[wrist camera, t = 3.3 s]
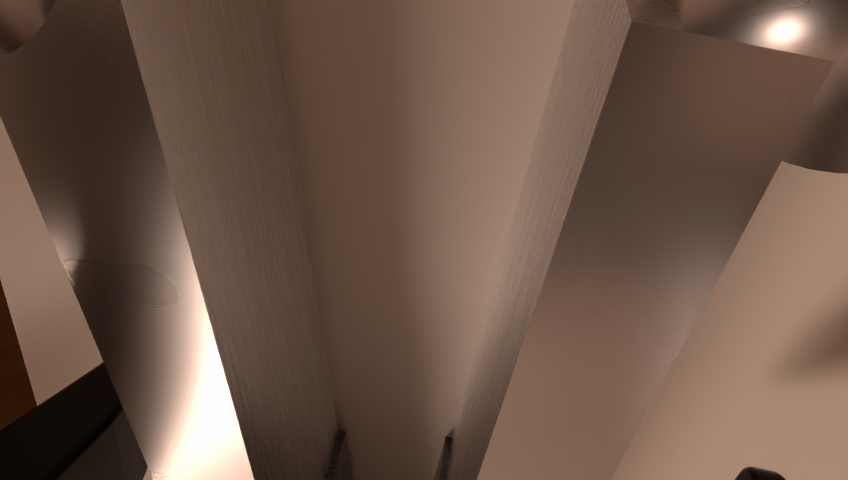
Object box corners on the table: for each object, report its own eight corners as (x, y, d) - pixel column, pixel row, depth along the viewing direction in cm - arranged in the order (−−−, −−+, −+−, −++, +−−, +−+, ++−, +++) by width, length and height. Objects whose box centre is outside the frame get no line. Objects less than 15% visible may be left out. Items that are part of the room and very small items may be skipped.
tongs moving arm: (371, 613, 15) (339, 778, 13) (248, 597, 15) (195, 754, 13) (235, -358, 6) (13, -412, 3) (-74, -345, 6) (-474, -383, 4)
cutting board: (635, 712, 19) (639, 756, 18) (123, 601, 19) (105, 639, 18) (1764, -562, 5) (2012, -621, 4) (-235, -914, 5) (-382, -1035, 4)
